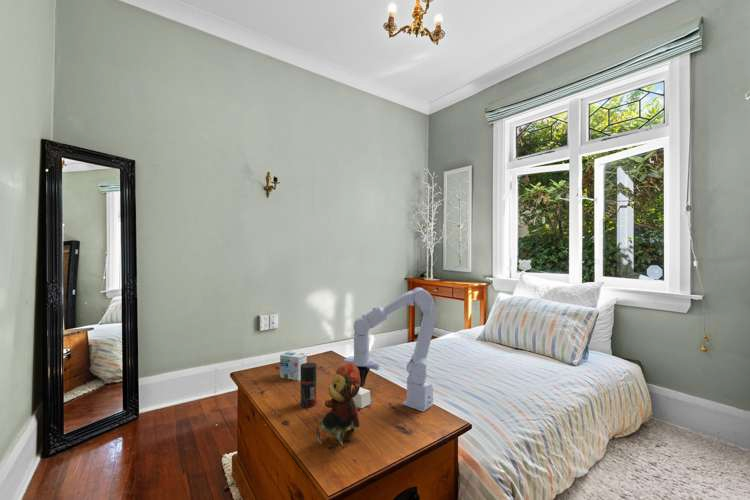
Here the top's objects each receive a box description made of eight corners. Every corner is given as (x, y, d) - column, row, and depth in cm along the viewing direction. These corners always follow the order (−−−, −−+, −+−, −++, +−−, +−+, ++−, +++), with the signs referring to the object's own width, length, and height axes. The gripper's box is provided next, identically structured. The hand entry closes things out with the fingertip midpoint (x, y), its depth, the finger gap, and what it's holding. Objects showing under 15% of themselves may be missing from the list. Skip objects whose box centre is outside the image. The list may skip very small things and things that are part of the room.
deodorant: (309, 409, 126) (308, 368, 127) (297, 405, 130) (297, 366, 130) (319, 403, 132) (319, 364, 132) (308, 399, 135) (308, 361, 135)
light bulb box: (279, 378, 158) (279, 354, 158) (288, 373, 164) (288, 350, 164) (298, 381, 154) (298, 357, 154) (307, 376, 160) (307, 353, 160)
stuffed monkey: (342, 415, 118) (355, 348, 114) (372, 448, 106) (387, 374, 102) (303, 427, 109) (315, 355, 105) (330, 465, 96) (345, 385, 92)
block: (370, 390, 130) (352, 384, 136) (361, 394, 126) (344, 388, 132) (370, 403, 130) (353, 397, 136) (361, 408, 126) (344, 401, 132)
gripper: (383, 349, 130) (383, 385, 130) (350, 345, 136) (350, 379, 136) (374, 354, 123) (374, 392, 123) (340, 349, 130) (341, 385, 130)
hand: (361, 385), depth 129 cm, fingers closed
